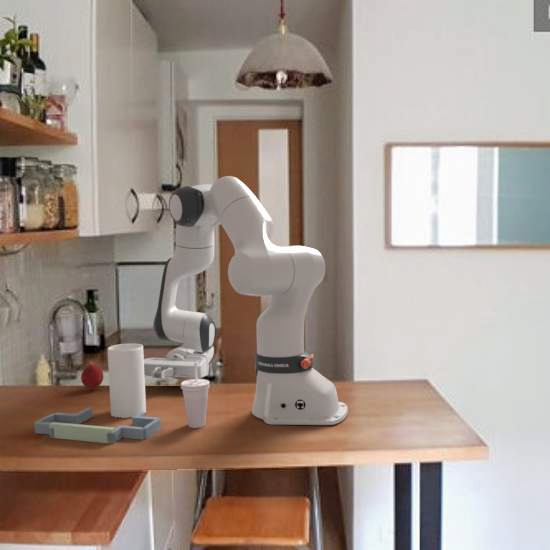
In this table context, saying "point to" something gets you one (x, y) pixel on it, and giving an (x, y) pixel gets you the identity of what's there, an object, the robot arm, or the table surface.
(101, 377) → the onion
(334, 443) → the table surface
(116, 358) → the cup
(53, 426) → the box
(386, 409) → the table surface
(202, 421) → the smoothie
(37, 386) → the table surface
